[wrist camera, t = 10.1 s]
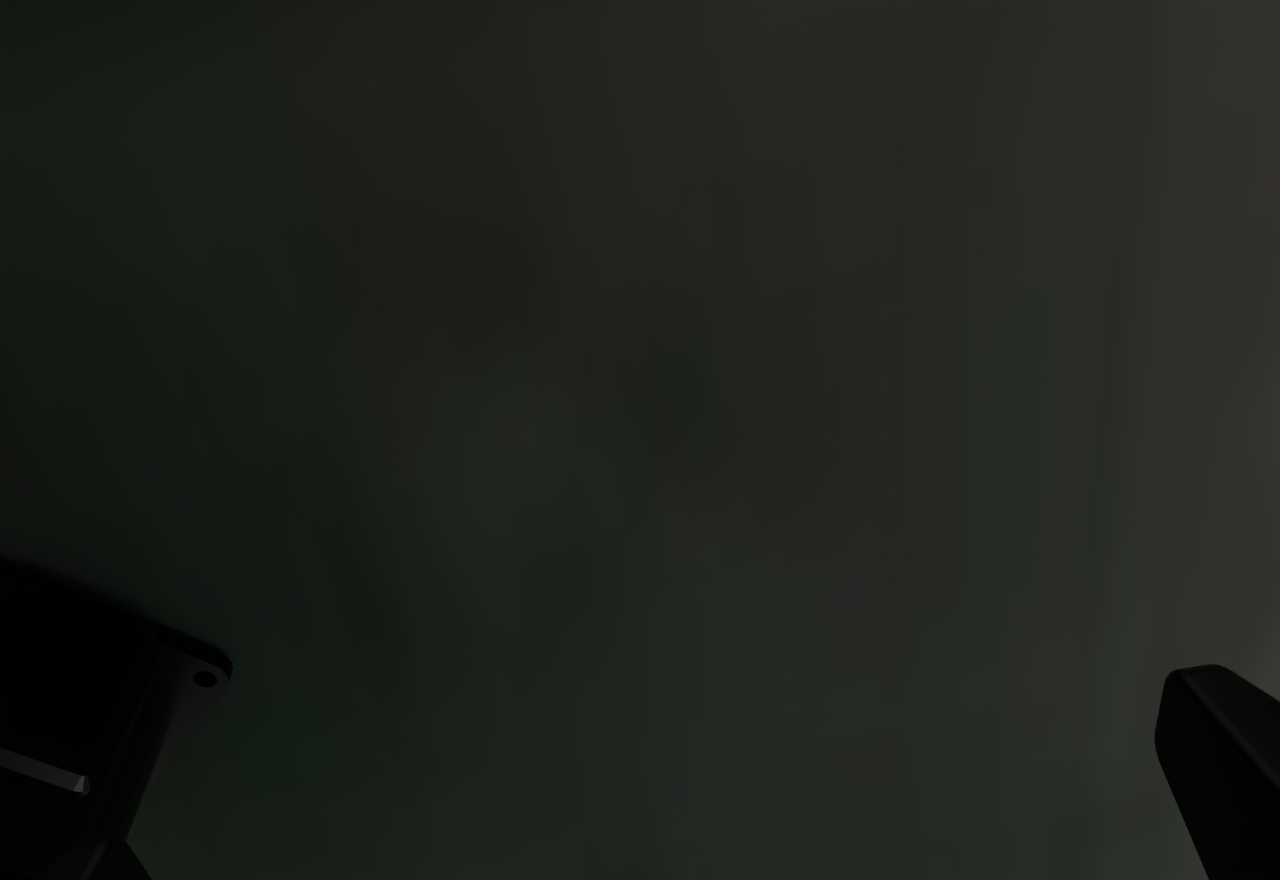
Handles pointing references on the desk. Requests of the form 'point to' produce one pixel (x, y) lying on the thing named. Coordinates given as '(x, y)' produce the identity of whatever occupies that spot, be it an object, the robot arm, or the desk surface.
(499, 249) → the desk surface
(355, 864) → the desk surface
